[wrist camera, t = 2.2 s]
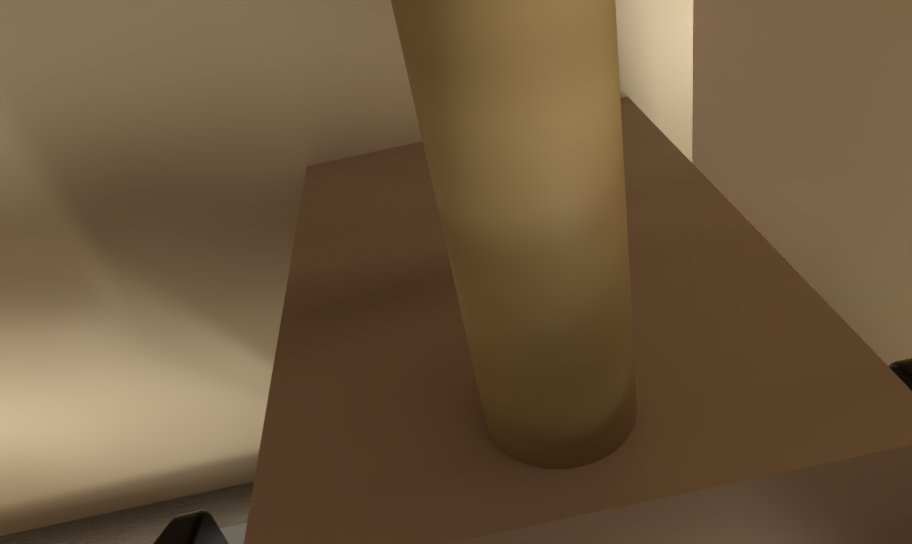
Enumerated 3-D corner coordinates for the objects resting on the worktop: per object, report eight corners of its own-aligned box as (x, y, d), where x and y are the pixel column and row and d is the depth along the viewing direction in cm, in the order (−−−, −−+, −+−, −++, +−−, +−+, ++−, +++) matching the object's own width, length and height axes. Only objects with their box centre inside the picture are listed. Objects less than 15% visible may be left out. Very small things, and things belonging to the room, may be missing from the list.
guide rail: (690, 429, 15) (709, 465, 14) (-318, 644, 15) (-358, 693, 14) (690, 387, 14) (711, 423, 13) (-364, 613, 14) (-409, 662, 13)
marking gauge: (641, 383, 14) (843, 792, 8) (395, 436, 14) (419, 881, 8) (613, -222, 8) (1190, -325, 3) (207, -132, 8) (-148, -28, 3)
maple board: (657, 373, 17) (689, 435, 15) (-243, 566, 17) (-310, 649, 15) (633, -440, 9) (696, -500, 7) (-1037, -67, 9) (-1357, -42, 7)
